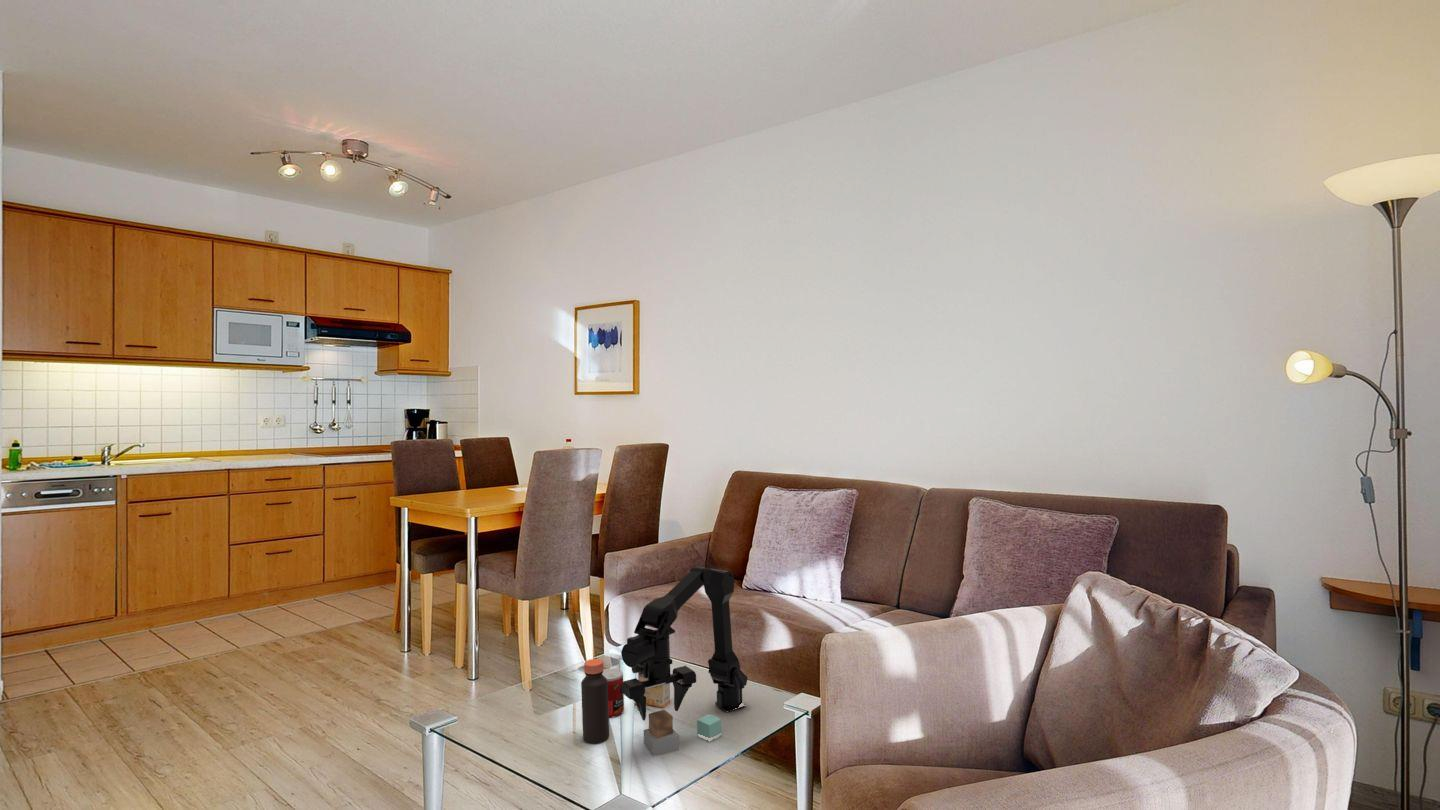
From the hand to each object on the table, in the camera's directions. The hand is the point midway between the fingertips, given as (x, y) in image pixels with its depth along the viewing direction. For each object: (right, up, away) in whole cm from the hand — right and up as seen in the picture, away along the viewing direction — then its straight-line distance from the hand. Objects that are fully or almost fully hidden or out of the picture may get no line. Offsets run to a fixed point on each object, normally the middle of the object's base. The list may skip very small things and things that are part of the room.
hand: (660, 715), depth 188 cm
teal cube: (+12, -8, +6) cm, 16 cm away
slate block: (0, -9, 0) cm, 9 cm away
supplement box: (-4, -8, +26) cm, 27 cm away
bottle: (-17, -9, +6) cm, 20 cm away
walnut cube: (0, -5, +1) cm, 5 cm away
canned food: (-16, -8, +21) cm, 28 cm away
